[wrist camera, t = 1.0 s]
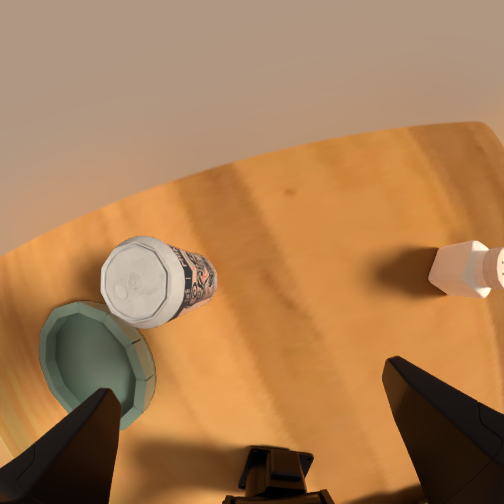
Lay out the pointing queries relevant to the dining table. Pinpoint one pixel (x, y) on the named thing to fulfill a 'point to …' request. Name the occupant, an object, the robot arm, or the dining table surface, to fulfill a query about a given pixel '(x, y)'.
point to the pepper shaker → (468, 269)
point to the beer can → (155, 282)
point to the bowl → (96, 358)
